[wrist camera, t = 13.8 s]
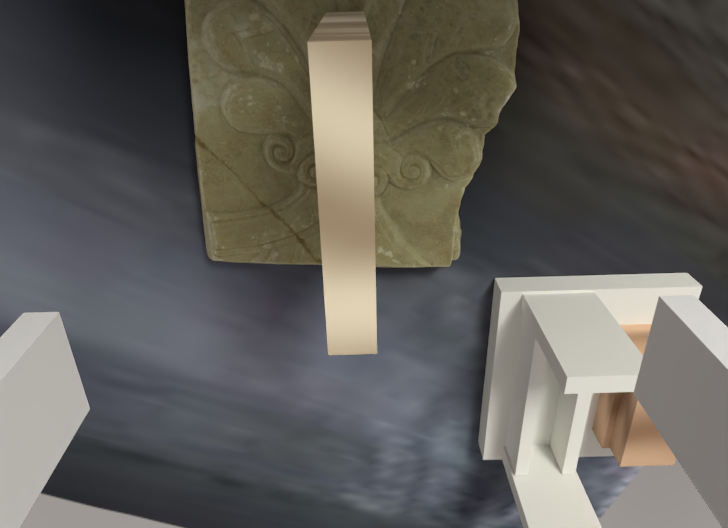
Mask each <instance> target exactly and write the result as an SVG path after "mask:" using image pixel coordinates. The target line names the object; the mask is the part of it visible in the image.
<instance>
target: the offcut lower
mask: <svg viewBox="0 0 728 528" xmlns="http://www.w3.org/2000/svg"><path fill="white" fill-rule="evenodd" d="M651 325H652V324H630V325H620V326H621V327H622V329H623V330H624V331H625V333H626V334H627V335H628V337H629V338H630V339H631V340H632V342H633V343H634V344H635V346H636V347H637V348H638V350H639V351H640V352H641V354H642V355H644V351H645V347H646V344H647V340H648V336H649V332H650V328H651ZM621 395H622V392H615V393H600V396H599V401H598V405H597V410H596V414H595V419H594V423H593V427H592V430H593V432H594V434H595V436H596V438H597V440H598V442H599V444H600V446H601V447H602V448H610V447H609V444H610V440H611V436H612V432H613V428H614V424H615V420H616V416H617V412H618V408H619V404H620V400H621Z"/></svg>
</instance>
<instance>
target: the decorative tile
mask: <svg viewBox="0 0 728 528" xmlns="http://www.w3.org/2000/svg"><path fill="white" fill-rule="evenodd" d="M350 11H364V13H365V17H366V21H367V25H368V28H369V32H370V36H371V40H372V90H373V148H374V205H375V263H376V267H392V268H408V267H449V266H450V265H451V262H452V260H457V259H458V257H459V256H460V239H461V228H460V219H459V215H458V212H459V207H460V202H461V198H462V196H463V194H464V190H465V187H466V186H467V185H468V184H469V182H470V181H471V179H472V178H473V174H474V172H475V171H476V170H477V168H478V167H479V165H480V163H481V160H482V150H483V147H484V138H485V134H486V133H487V132H489V131H490V130H491V129H492V128H494V127H495V126H496V124H497V123H498V118H499V114H500V111H501V109H502V107H504V105H505V104H506V102H507V101H508V99H509V98H510V96H511V95H512V93H513V92H514V91H515V89H516V80H515V63H516V50H517V45H518V36H519V31H520V21H519V15H518V1H517V0H185V14H186V30H187V47H188V61H189V73H190V84H191V95H192V107H193V117H194V132H195V151H196V159H197V170H198V180H199V188H200V197H201V205H202V214H203V224H204V233H205V241H206V249H207V254H208V256H209V258H210V259H212V260H213V261H225V262H235V263H260V264H300V265H322V254H321V239H320V224H319V209H318V194H317V179H316V164H315V149H314V134H313V119H312V104H311V89H310V74H309V60H308V45H307V42H308V40H309V39H310V37H311V35H312V34H313V32H314V31H315V29H316V28H317V26H318V24H319V23H320V21H321V20H322V18H323V17H324V15H325V13H326V12H350Z"/></svg>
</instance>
